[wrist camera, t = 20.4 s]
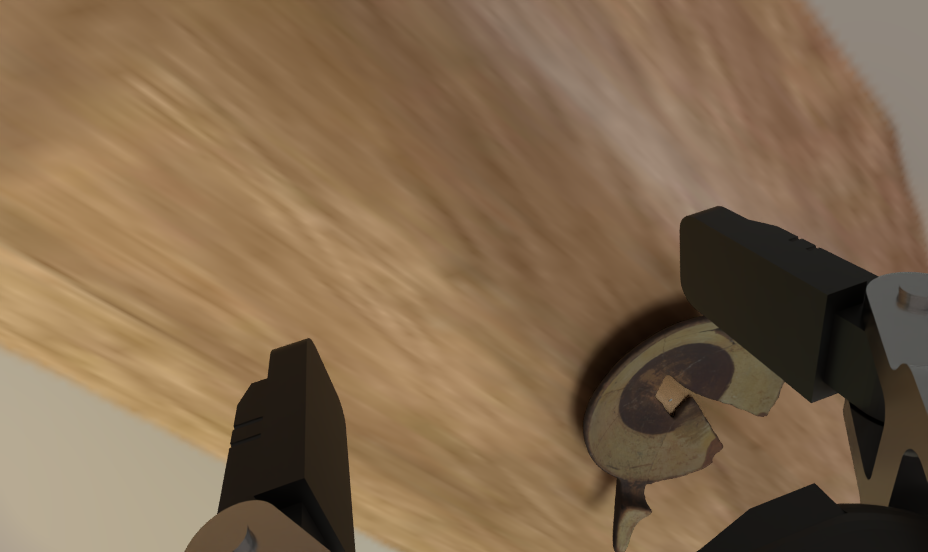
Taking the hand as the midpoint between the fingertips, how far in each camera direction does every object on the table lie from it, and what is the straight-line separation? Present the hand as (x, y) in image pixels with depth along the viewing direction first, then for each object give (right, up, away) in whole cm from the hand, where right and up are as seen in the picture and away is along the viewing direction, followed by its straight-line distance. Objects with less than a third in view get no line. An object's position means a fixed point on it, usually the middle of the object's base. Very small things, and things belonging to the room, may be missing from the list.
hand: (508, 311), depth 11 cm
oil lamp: (+20, -13, +50) cm, 55 cm away
